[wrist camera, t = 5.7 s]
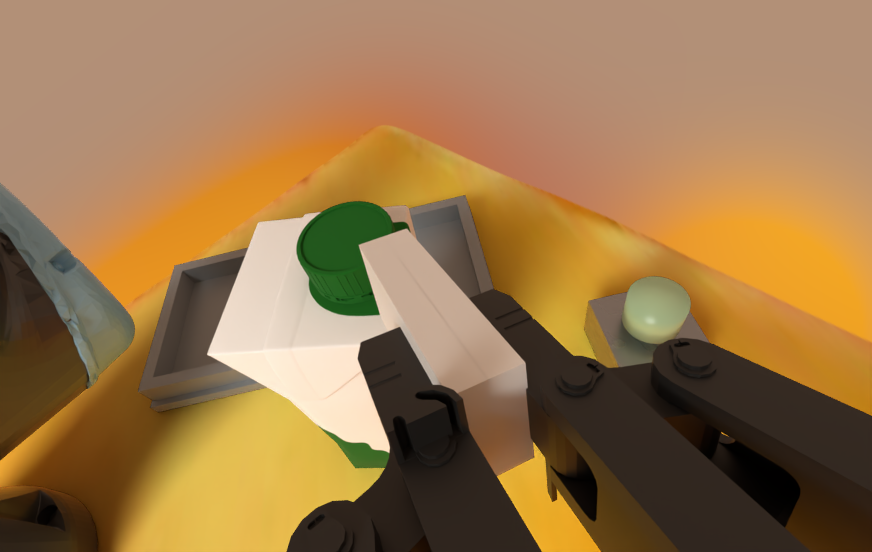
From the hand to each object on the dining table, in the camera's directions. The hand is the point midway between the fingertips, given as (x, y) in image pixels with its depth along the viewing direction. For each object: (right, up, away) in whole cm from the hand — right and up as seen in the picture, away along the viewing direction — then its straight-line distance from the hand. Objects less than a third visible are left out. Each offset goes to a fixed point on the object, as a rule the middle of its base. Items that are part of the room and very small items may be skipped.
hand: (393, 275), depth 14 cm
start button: (+16, -3, +16) cm, 22 cm away
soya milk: (-1, -11, +20) cm, 23 cm away
